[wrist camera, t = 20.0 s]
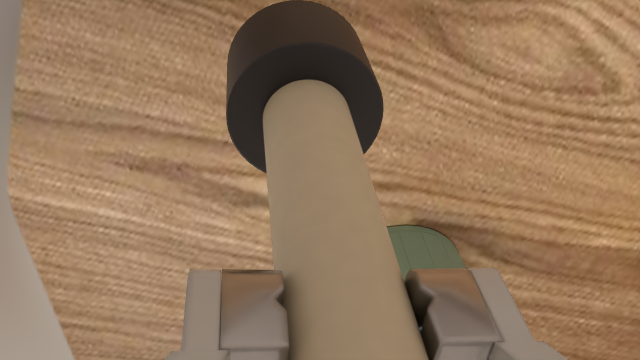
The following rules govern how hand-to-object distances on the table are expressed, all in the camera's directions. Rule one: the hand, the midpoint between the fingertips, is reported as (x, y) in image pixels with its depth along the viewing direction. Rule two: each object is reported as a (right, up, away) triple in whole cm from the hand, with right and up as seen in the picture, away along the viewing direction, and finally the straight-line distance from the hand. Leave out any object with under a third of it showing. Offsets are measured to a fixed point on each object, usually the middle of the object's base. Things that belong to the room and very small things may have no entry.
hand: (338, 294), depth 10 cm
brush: (-1, +5, +7) cm, 9 cm away
